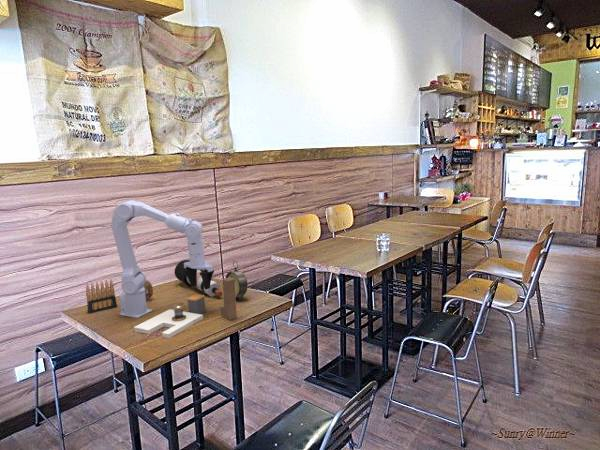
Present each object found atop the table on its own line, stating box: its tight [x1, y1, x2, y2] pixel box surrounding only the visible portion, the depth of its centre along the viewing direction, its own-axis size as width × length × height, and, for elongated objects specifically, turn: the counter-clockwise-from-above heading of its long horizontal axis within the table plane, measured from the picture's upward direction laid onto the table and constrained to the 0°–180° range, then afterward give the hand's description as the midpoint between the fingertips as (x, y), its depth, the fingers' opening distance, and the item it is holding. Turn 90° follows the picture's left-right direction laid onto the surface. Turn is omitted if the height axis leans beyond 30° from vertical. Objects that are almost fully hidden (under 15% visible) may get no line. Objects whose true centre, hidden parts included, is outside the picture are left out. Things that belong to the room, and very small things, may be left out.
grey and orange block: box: [187, 293, 206, 315], centre depth 166 cm, size 4×5×7 cm
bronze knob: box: [170, 302, 186, 321], centre depth 157 cm, size 5×5×5 cm
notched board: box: [133, 308, 204, 339], centre depth 156 cm, size 16×18×2 cm
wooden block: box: [219, 277, 238, 321], centre depth 160 cm, size 7×3×15 cm, turn 40°
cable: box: [174, 259, 223, 297], centre depth 193 cm, size 10×34×10 cm, turn 37°
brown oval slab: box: [144, 279, 154, 300], centre depth 186 cm, size 15×3×8 cm, turn 59°
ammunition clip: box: [85, 278, 118, 315], centre depth 173 cm, size 11×2×12 cm, turn 128°
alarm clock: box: [225, 260, 248, 302], centre depth 180 cm, size 11×5×16 cm, turn 42°
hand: (200, 287), depth 167 cm, fingers open, 7 cm apart
